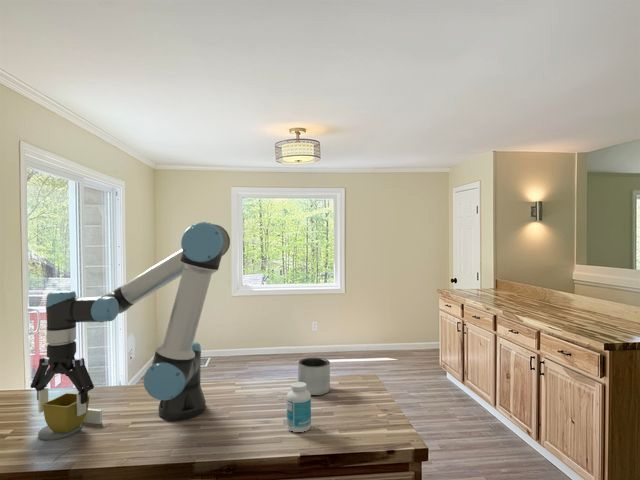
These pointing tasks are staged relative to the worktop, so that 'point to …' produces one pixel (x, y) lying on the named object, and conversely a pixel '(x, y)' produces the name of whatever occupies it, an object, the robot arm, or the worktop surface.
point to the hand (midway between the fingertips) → (62, 412)
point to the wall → (93, 416)
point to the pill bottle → (298, 408)
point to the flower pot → (63, 413)
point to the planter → (315, 375)
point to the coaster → (55, 433)
